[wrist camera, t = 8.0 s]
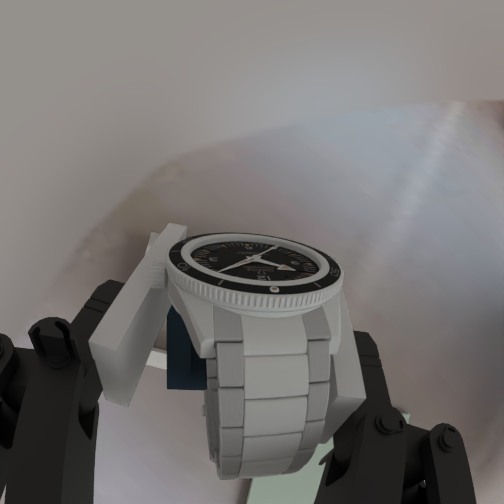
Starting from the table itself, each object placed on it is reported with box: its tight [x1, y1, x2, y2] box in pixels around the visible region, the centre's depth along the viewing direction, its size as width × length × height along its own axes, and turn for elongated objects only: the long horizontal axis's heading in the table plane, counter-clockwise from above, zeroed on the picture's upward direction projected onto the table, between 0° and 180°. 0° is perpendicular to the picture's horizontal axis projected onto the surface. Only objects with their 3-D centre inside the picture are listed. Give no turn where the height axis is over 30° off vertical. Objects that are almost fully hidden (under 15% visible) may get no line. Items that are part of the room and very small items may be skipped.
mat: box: [246, 412, 410, 504], centre depth 22 cm, size 14×14×1 cm
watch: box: [150, 233, 344, 480], centre depth 11 cm, size 6×8×11 cm
